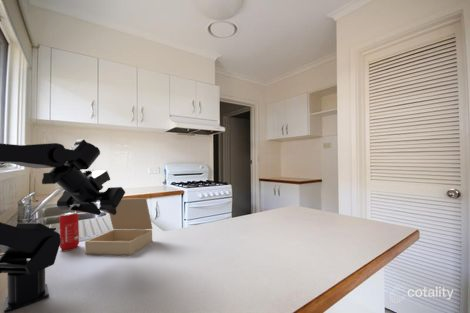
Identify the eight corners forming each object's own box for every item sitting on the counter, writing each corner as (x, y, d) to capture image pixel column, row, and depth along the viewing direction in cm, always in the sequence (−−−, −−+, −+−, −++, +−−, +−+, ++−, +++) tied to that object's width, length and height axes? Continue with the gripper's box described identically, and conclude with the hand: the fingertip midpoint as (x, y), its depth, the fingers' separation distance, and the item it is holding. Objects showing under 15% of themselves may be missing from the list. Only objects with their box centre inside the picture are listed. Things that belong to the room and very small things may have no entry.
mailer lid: (145, 198, 74) (146, 198, 74) (105, 199, 77) (106, 199, 77) (151, 229, 77) (152, 228, 77) (113, 229, 80) (114, 228, 80)
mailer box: (130, 255, 65) (129, 242, 65) (85, 254, 68) (85, 241, 68) (152, 241, 76) (152, 229, 77) (113, 240, 79) (113, 229, 80)
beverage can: (68, 251, 71) (67, 215, 71) (56, 251, 72) (55, 215, 72) (82, 245, 76) (81, 211, 76) (70, 245, 77) (70, 211, 77)
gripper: (119, 159, 61) (144, 192, 71) (65, 162, 64) (96, 194, 75) (98, 190, 53) (129, 222, 63) (37, 192, 56) (76, 222, 67)
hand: (107, 213), depth 67 cm, fingers open, 5 cm apart
